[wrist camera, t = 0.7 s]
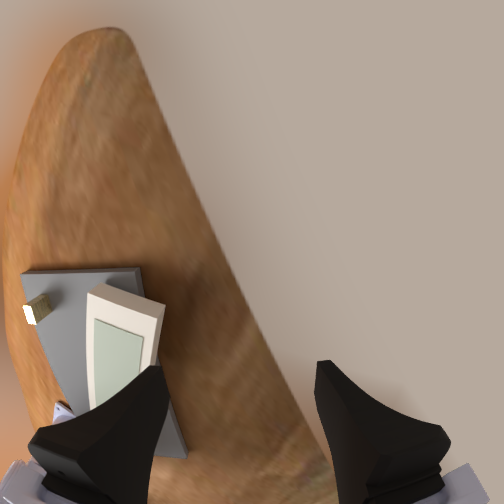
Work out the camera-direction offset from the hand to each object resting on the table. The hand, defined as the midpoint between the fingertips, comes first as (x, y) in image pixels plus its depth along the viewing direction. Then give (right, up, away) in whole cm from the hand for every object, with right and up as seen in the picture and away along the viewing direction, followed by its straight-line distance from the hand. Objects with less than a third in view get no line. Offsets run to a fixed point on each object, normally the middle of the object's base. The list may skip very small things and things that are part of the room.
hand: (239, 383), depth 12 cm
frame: (-10, -5, +8) cm, 14 cm away
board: (-13, -6, +9) cm, 17 cm away
